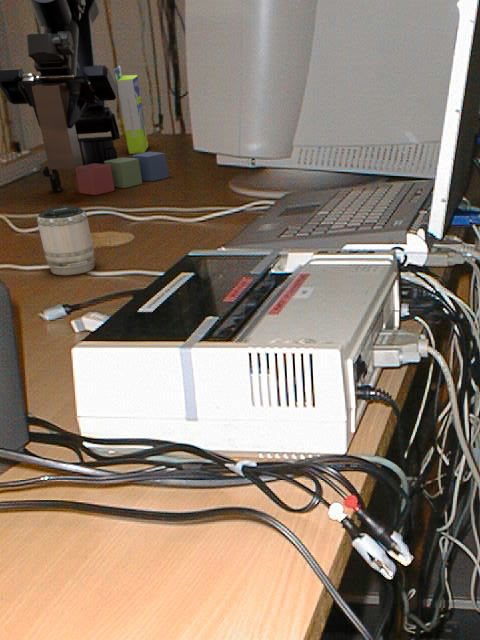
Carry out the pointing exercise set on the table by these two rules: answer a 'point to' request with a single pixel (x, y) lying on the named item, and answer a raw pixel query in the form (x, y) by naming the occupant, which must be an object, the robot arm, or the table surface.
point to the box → (131, 112)
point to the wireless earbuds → (53, 179)
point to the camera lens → (66, 240)
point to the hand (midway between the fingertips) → (55, 127)
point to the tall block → (56, 126)
